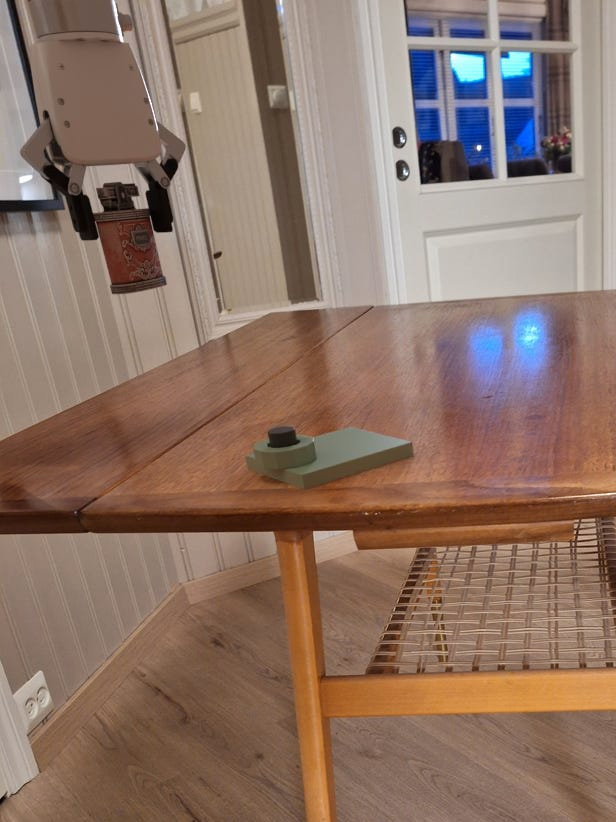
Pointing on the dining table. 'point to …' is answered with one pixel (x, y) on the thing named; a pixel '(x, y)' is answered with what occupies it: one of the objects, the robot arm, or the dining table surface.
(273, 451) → the scale
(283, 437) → the button
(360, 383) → the dining table surface
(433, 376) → the dining table surface
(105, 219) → the lighter
